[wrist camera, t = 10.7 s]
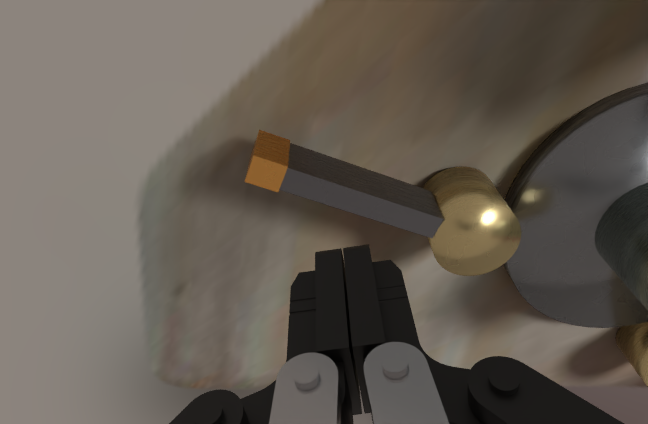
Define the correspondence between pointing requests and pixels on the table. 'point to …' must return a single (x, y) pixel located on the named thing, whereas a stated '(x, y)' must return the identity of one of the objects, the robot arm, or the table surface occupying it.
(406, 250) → the table surface
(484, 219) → the brass head mallet
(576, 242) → the base
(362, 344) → the robot arm
